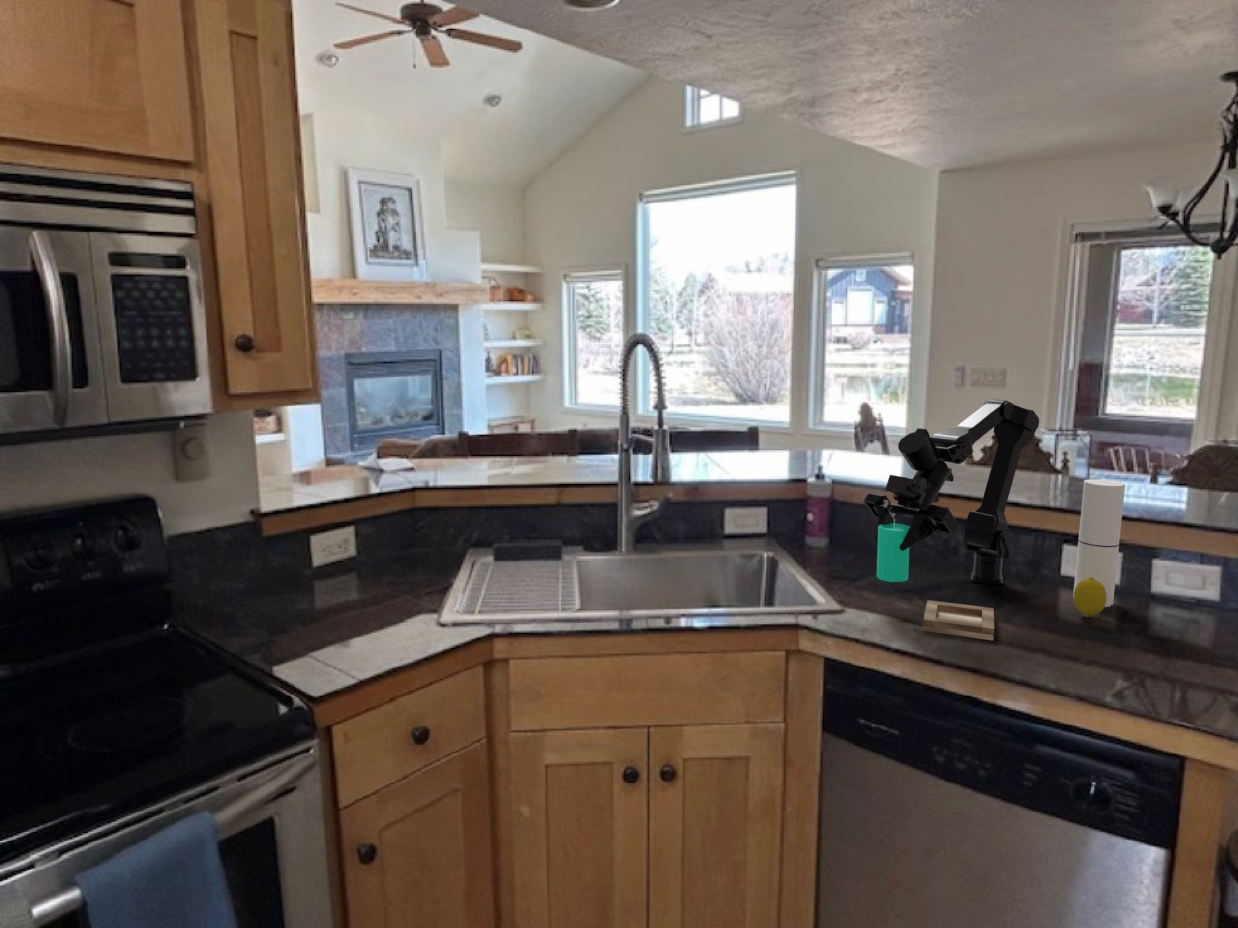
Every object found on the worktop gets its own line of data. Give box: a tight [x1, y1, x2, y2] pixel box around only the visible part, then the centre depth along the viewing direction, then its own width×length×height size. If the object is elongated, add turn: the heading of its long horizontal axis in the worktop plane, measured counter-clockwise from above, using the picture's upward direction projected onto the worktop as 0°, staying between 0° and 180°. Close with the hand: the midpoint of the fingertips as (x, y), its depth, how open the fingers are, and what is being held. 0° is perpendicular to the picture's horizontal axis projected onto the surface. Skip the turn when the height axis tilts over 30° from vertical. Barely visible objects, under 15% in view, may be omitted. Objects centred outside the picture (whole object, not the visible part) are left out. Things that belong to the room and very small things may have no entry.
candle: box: [876, 518, 911, 583], centre depth 160 cm, size 6×6×12 cm
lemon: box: [1072, 577, 1106, 618], centre depth 157 cm, size 6×6×8 cm
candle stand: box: [922, 599, 995, 642], centre depth 154 cm, size 12×12×2 cm
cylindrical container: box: [1072, 478, 1126, 608], centre depth 165 cm, size 7×7×25 cm
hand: (888, 546), depth 160 cm, fingers closed on candle, 5 cm apart
